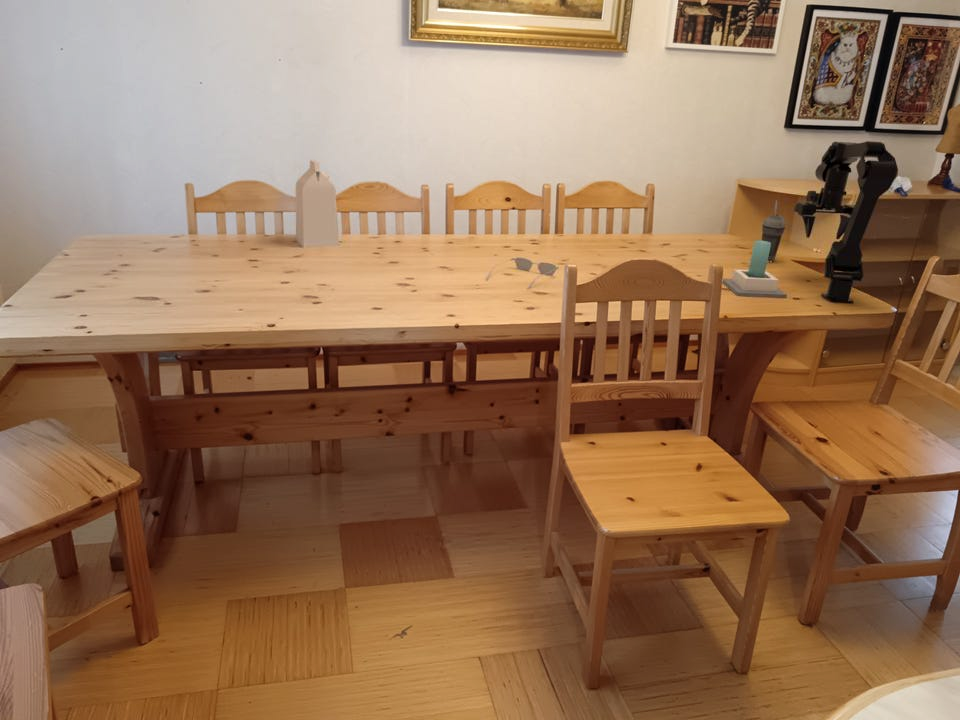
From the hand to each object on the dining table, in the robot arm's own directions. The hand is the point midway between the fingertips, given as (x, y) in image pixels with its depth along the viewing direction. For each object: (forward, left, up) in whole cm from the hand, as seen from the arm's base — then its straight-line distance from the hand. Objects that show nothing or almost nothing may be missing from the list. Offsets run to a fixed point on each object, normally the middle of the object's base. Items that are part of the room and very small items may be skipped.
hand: (822, 238), depth 216 cm
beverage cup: (+22, +6, -13) cm, 26 cm away
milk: (+19, +157, -13) cm, 159 cm away
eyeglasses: (-13, +92, -14) cm, 94 cm away
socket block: (-14, +24, -13) cm, 31 cm away
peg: (-14, +24, -12) cm, 30 cm away
